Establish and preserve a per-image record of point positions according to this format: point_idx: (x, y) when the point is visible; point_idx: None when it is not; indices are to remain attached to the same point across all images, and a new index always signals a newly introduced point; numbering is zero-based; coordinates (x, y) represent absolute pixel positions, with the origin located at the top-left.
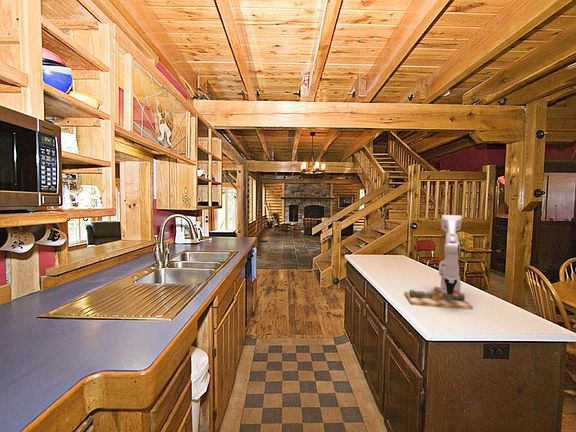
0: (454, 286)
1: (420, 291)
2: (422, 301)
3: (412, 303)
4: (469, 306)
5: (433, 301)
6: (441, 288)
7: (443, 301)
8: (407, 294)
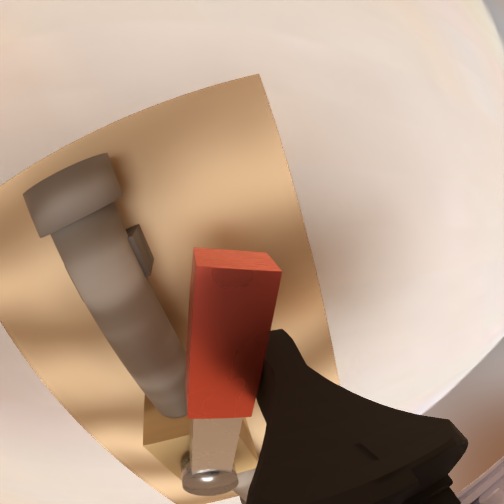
0: (364, 398)
1: None
2: None
3: None
4: (267, 105)
5: None
6: (209, 460)
7: None
8: (227, 495)
